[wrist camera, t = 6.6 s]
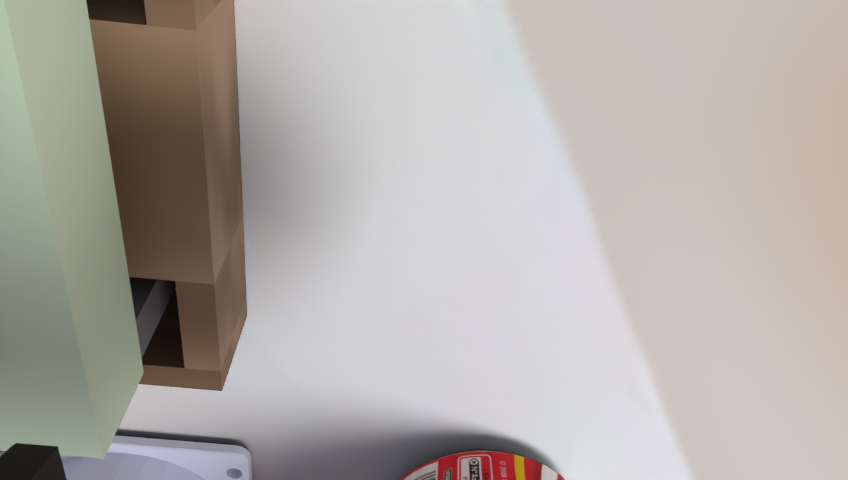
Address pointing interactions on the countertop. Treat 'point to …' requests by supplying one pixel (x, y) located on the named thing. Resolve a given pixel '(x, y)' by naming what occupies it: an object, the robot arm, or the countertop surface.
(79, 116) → the green toy bench
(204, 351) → the post base
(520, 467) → the soda can
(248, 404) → the countertop surface
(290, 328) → the countertop surface
